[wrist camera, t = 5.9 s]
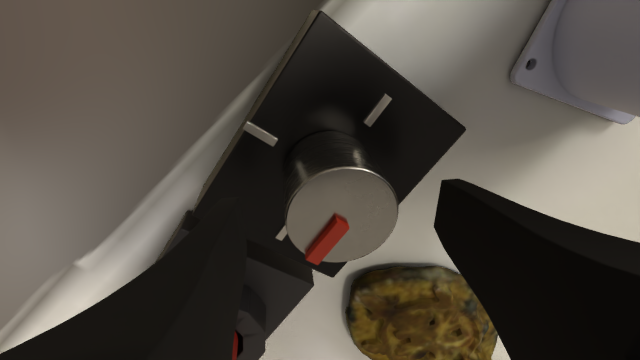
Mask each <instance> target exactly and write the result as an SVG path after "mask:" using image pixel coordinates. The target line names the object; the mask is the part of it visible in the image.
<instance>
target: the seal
mask: <svg viewBox="0 0 640 360" xmlns="http://www.w3.org/2000/svg"><path fill="white" fill-rule="evenodd" d="M345 313H346V320H347V325H348V328H349V332H350V335H351V338H352V340H353V342H354V344H355V345H356V346H357V348H358V349H359V350H360V351H361V352H362V353H363V354H364V355H366V356H368V357H369V358H370V359H372V360H492V359H491V356H492V354H493V351H494V348H495V345H496V342H497V337H498V333H497V331H496V329H495V328H494V326H493V324H492V322H491V320H490V318H489V316H488V314H487V313H486V311H485V309H484V308H483V306H482V304H481V303H480V301H479V300H478V298H477V297H476V295H475V294H474V292H473V291H472V289H471V288H470V286H469V285H468V284H467V282H466V281H465V279H464V278H463V276H462V275H460V274H458V273H456V272H453V271H451V270H449V269H446V268H443V267H437V266H426V267H402V266H401V267H392V268H389V269H386V270H374V271H372V272H369V273H366V274H364V275H363V276H361V277H359V278H357V279H355V280H354V282H353V284H352V286H351V292H350V300H349V306H348V307H347V308H346V311H345Z"/></svg>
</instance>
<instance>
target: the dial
mask: <svg viewBox="0 0 640 360" xmlns="http://www.w3.org/2000/svg"><path fill="white" fill-rule="evenodd" d="M283 193H284V213H285V226H286V230H287V233H288V236H289V238H290V240H291V241H292V242H293V244H294V245H295V246H296V247H297V248H298V249H299V250H300V251H301V252H303V253H304V254H305V259H306V260H307V261H309V262H312V263H314V264H316V265H319V263H320V262H321V261H325V262H346V261H351V260H355V259H358V258H361V257H363V256H365V255H367V254H369V253H371V252H372V251H374V250H375V249H377V248H378V247H379V246H380V245H381V244H383V243H384V242H385V240H386V239H387V238H388V237H389V235H390V234H391V232H392V231H393V229H394V227H395V224H396V221H397V217H398V200H397V196H396V193H395V191H394V189H393V188H392V186H391V185H390V183H389V182H388V180H387V178H386V177H385V175H384V174H383V172H382V171H381V169H380V168H379V166H378V165H377V163H376V162H375V160H374V159H373V157H372V156H371V154H370V152H369V151H368V149H367V148H366V147H365V145H364V144H363V143H362V142H361V141H359V140H358V139H357V138H355V137H354V136H352V135H349V134H347V133H344V132H339V131H323V132H319V133H315V134H312V135H310V136H308V137H306V138H304V139H303V140H301V141H300V142H299V143H298V144H296V145H295V146H294V147H293V149H292V150H291V151H290V153H289V154H288V156H287V158H286V160H285V163H284V167H283Z"/></svg>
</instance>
